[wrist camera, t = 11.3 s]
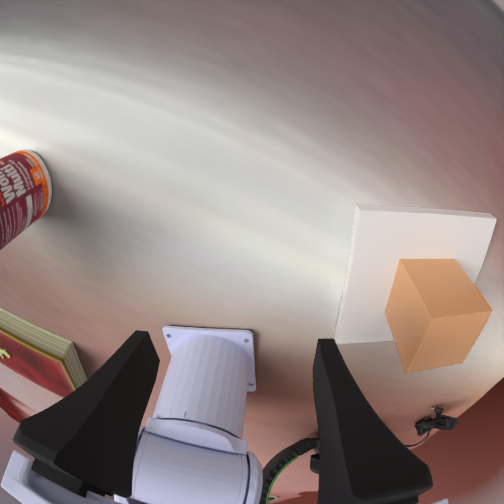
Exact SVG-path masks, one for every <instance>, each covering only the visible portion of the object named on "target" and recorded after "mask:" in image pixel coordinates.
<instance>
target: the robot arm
mask: <svg viewBox="0 0 504 504" xmlns="http://www.w3.org/2000/svg"><path fill="white" fill-rule="evenodd" d="M163 334H164V336H165V339H166V342H167V345H168V348H169V350H170V353H171V356H172V358H171V361H170V364H169V367H168V370H167V373H166V376H165V379H164V382H163V385H162V388H161V391H160V395H159V398H158V401H157V404H156V407H155V411H154V414H153V417H149V418H148V421H147V424H146V427H143V426H140V425H141V421H142V418H143V415H144V412H145V409H146V407H147V404H148V401H149V398H150V395H151V392H152V389H153V387H154V384H155V381H156V376H157V372H158V367H159V362H160V360H159V357H158V355H157V353H156V350H155V348H154V345H153V343H152V340H151V338H150V335H149V333H148V332H146V331H138V330H136V331H135V332H134V333H133V334H132V335H131V336H130V337H129V338H128V339H127V340H126V341H125V342H124V343H123V345H122V346H121V347H120V348H119V349H118V350H117V351H116V352H115V353H114V354H113V355H112V356H111V357H110V358H109V359H108V360H107V361H106V362H105V364H104V365H103V366H102V367H101V368H99V369H98V370H97V371H96V372H95V373H94V374H93V375H92V376H91V377H90V378H89V379H88V380H87V381H86V382H84V383H83V384H82V385H81V386H80V387H78V388H77V389H76V390H74V391H73V392H72V393H70V394H69V395H68V396H66V397H65V398H63V399H62V400H60V401H59V402H57V403H56V404H54V405H52V406H51V407H49V408H47V409H45V410H43V411H41V412H39V413H37V414H35V415H33V416H31V417H28V418H26V419H23V420H21V422H20V425H19V427H18V429H17V431H16V433H15V436H14V438H13V442H14V443H15V444H17V445H18V446H19V447H21V448H22V449H23V450H25V451H26V452H27V453H29V454H30V455H32V456H33V457H34V458H35V460H34V462H33V461H32V460H30V459H28V458H27V457H25V456H24V455H22V454H20V453H19V452H17V451H16V450H14V451H13V454H12V456H11V458H10V461H9V463H8V466H7V469H6V471H5V474H4V477H3V479H2V482H1V487H2V488H3V489H5V490H6V491H7V492H9V493H10V494H11V495H12V496H14V497H15V498H16V499H17V500H19V501H20V502H21V503H23V504H259V501H260V497H261V492H262V484H263V472H262V466H261V463H260V461H259V460H258V459H257V457H256V455H255V454H254V453H252V452H247V446H248V441H247V440H242V435H243V425H244V416H245V406H246V397H247V392H254V391H255V390H256V376H255V359H254V341H253V333H252V332H251V331H250V330H234V329H211V328H194V327H179V326H164V328H163ZM169 334H170V335H169ZM313 392H314V400H315V407H316V415H317V423H318V431H319V443H320V460H319V490H318V504H416V503H418V495H420V494H422V493H424V492H426V491H428V490H429V489H431V488H432V486H433V481H432V476H431V473H430V470H429V468H428V466H427V465H426V464H425V463H424V462H423V461H421V460H420V459H419V458H418V457H417V456H415V455H414V454H413V453H412V452H411V451H410V450H409V449H408V448H407V447H406V446H405V445H403V444H402V443H401V442H400V440H399V439H398V438H397V437H396V436H395V435H394V434H393V433H392V432H391V431H390V430H389V429H388V428H387V426H386V425H385V424H384V423H383V421H382V420H381V419H380V418H379V416H378V415H377V414H376V413H375V411H374V410H373V408H372V407H371V406H370V404H369V403H368V401H367V400H366V398H365V397H364V395H363V394H362V392H361V391H360V389H359V387H358V386H357V384H356V382H355V380H354V379H353V377H352V375H351V373H350V371H349V370H348V368H347V366H346V364H345V362H344V360H343V358H342V356H341V353H340V351H339V349H338V347H337V344H336V342H335V340H334V339H318V343H317V348H316V354H315V359H314V364H313ZM105 494H106V495H109V496H113V494H115V495H114V501H113V500H111V499H108V498H105V497H104V496H105ZM432 504H448V499H443V500H440V501H438V502H435V503H432Z"/></svg>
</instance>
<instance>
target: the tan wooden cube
mask: <svg viewBox="0 0 504 504" xmlns="http://www.w3.org/2000/svg"><path fill="white" fill-rule="evenodd" d="M491 312H492V309H491V308H490V306H489V305H488V303H487V302H486V300H485V299H484V297H483V296H482V295H481V293H480V292H479V290H478V289H477V288H476V286H475V285H474V284H473V282H472V281H471V279H470V278H469V277H468V276H467V274H466V273H465V272H464V270H463V269H462V268H461V267H460V265H459V264H458V263H457V261H456V260H455V259H454V258H453V259H399V262H398V266H397V270H396V274H395V278H394V281H393V285H392V288H391V292H390V295H389V299H388V302H387V305H386V309H385V312H384V313H385V316H386V319H387V321H388V324H389V327H390V329H391V332H392V335H393V338H394V341H395V344H396V347H397V349H398V352H399V355H400V358H401V361H402V365H403V368H404V371H405V373H408V372H414V371H421V370H427V369H433V368H438V367H443V366H449V365H454V364H458V363H462V362H463V361H464V359H465V358H466V356H467V354H468V353H469V351H470V350H471V348H472V346H473V345H474V343H475V341H476V340H477V338H478V336H479V335H480V333H481V331H482V329H483V327H484V326H485V324H486V322H487V320H488V318H489V316H490V314H491Z"/></svg>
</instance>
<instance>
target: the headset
mask: <svg viewBox="0 0 504 504" xmlns="http://www.w3.org/2000/svg"><path fill="white" fill-rule="evenodd" d="M430 409H432V410H434V411H435V412H436V418H434V419H432V418H430V417H425V418H424V419H423V421H422V422H418V423H416V425H415V426H414V427H415V428H416V430H417V434H418V436H422V435H424V434H425V433H426V432H427V431H429V432H428V434H427V436H426V437H425V438H424V439H423V440H422V441H420V442H419V443H421V442H423V441H424V440H425V439H427V437H428V436H429V433H430V431H431V429H432V428H437V429H441V430H451V429H453V428H454V427H455V426H456V424H458V422H459V420H458V419H457V418H453V417H450V416H445V415H441V413H442V411H443V408H439V407H436V408H433V407H430ZM419 443H417V444H419ZM417 444H414V445H405V446H406V447H411V446H415V445H417ZM314 448H315V452H316V453H317V454H314V455H311V457H310V458H311V462H310V469H311V471H312V472H314V473H317V474H319V460H320V443H319V438H305V439H303V440H300V441H299V442H296V443H294V444H293V445H291V446H289V447H288V448H286V449H284V450H282V451H281V452H279V453H278V454H277V455H276V456H274V457H273V458H272V459H271V460H270V461H269V462H268V464H267V465H266V466H265V467H264V469H263V470H262V472H263V484H262V492H261V497H260V501H259V504H268V498H269V494H270V490H271V487H272V485H273V483H274V481H275V480H276V478H277V476H278V475H279V474H280V473H281V472H282V470H283V469H284V468H285V467H286V466H287V465H289V464H290V463H291V462H292V461H294V460H295V459H296V458H297V457H298V456H300V455H302V454H304V453H306V452H308V451H309V450H311V449H314Z"/></svg>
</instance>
